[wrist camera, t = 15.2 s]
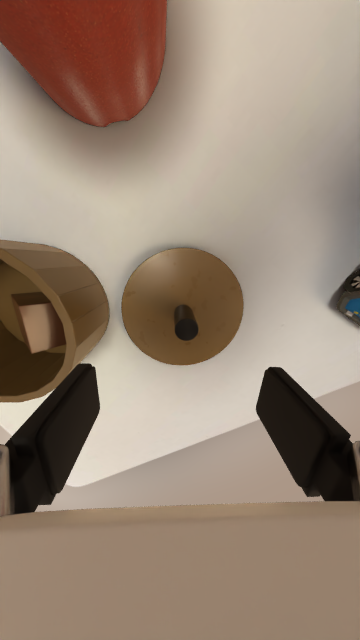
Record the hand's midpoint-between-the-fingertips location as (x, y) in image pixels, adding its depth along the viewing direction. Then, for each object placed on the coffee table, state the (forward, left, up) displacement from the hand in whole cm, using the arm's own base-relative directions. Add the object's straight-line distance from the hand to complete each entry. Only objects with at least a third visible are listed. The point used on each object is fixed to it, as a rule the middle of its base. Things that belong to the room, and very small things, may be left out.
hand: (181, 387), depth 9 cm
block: (+16, 0, -12) cm, 20 cm away
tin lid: (-1, 0, -14) cm, 14 cm away
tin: (+16, 0, -14) cm, 22 cm away
